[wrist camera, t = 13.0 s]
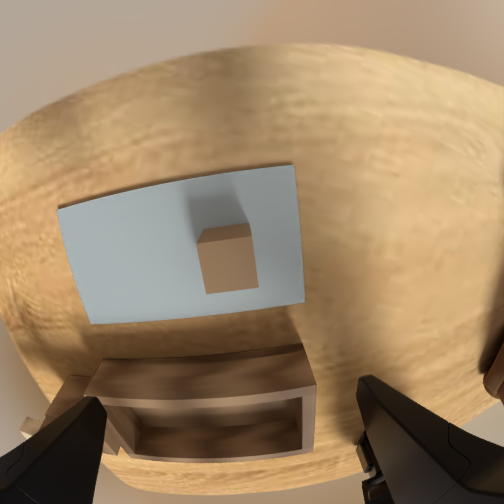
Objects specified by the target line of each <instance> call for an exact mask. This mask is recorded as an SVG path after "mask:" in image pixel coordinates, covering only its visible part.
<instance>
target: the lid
mask: <svg viewBox="0 0 504 504" xmlns="http://www.w3.org/2000/svg"><path fill="white" fill-rule="evenodd" d="M56 211H57V216H58V220H59V225H60V229H61V233H62V238H63V242H64V245H65V249H66V253H67V257H68V260H69V263H70V267H71V270H72V273H73V277H74V280H75V283H76V286H77V289H78V292H79V294H80V297H81V300H82V303H83V305H84V308H85V311H86V313H87V316H88V318H89V321H90V323H91V324H111V323H129V322H144V321H157V320H169V319H180V318H191V317H200V316H210V315H218V314H227V313H235V312H243V311H250V310H258V309H265V308H272V307H279V306H285V305H292V304H298V303H304V302H305V293H304V275H303V260H302V246H301V233H300V221H299V210H298V200H297V190H296V180H295V171H294V165H286V166H276V167H267V168H259V169H250V170H243V171H235V172H228V173H221V174H215V175H208V176H202V177H196V178H190V179H185V180H179V181H174V182H169V183H164V184H159V185H154V186H149V187H144V188H140V189H135V190H131V191H126V192H122V193H118V194H114V195H109V196H105V197H101V198H98V199H94V200H90V201H86V202H83V203H79V204H75V205H72V206H68V207H65V208H62V209H58V210H56Z"/></svg>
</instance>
